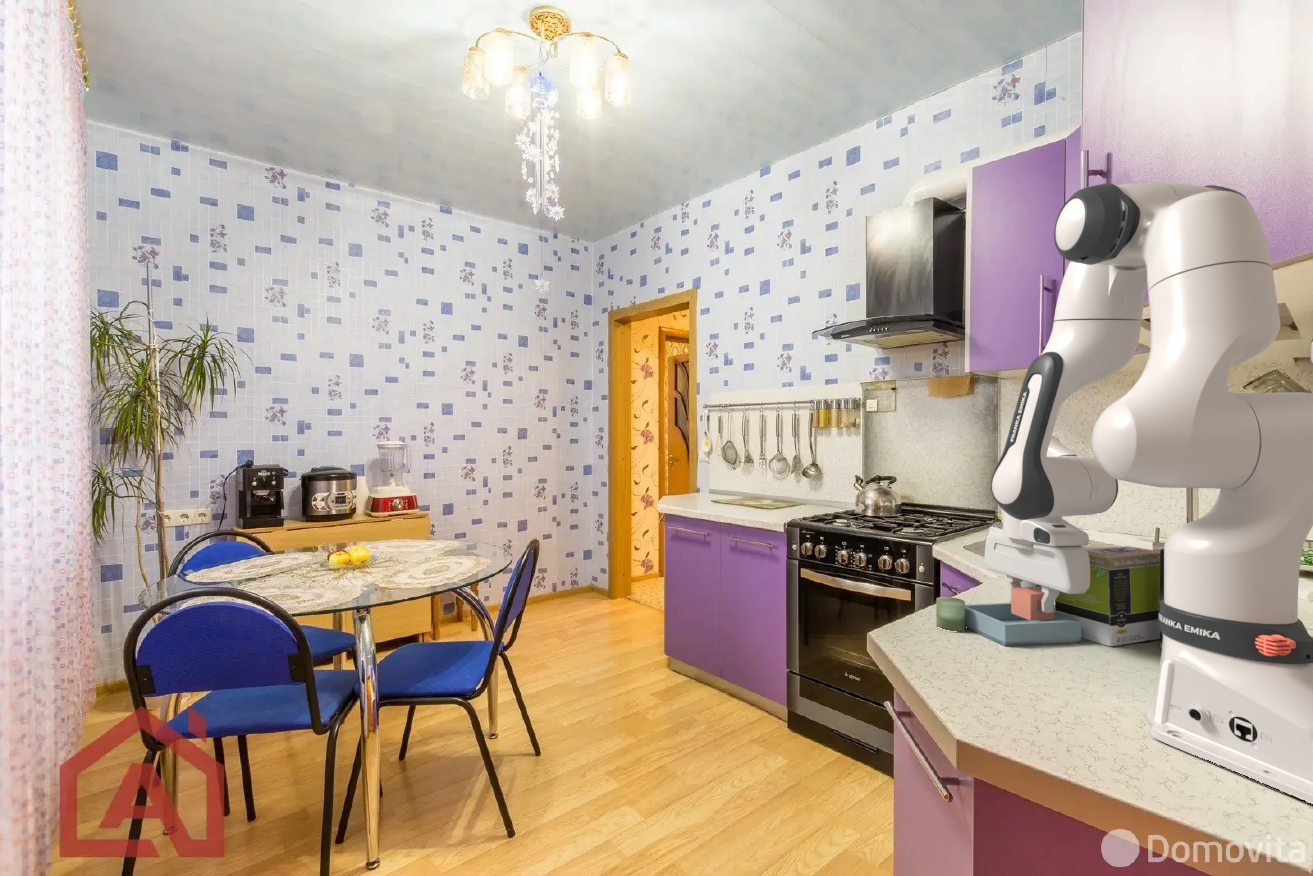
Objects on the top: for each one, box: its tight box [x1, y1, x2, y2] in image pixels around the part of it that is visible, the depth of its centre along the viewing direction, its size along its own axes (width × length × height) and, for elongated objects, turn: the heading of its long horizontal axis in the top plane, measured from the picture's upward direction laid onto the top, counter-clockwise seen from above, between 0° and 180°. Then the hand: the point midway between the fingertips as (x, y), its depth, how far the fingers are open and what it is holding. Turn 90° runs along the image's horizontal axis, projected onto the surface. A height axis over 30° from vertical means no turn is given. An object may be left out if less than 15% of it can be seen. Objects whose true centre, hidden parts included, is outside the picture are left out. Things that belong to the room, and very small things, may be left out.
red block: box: [1011, 587, 1055, 621], centre depth 105 cm, size 4×4×4 cm
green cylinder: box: [935, 596, 966, 633], centre depth 107 cm, size 5×5×5 cm
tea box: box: [1054, 543, 1160, 647], centre depth 104 cm, size 15×10×15 cm
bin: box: [965, 602, 1082, 647], centre depth 104 cm, size 12×14×4 cm
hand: (1032, 607), depth 105 cm, fingers closed on red block, 4 cm apart
